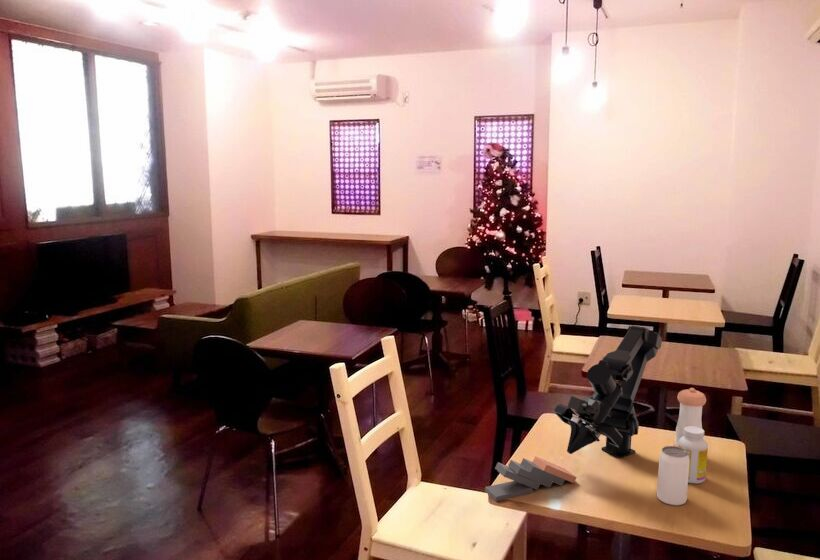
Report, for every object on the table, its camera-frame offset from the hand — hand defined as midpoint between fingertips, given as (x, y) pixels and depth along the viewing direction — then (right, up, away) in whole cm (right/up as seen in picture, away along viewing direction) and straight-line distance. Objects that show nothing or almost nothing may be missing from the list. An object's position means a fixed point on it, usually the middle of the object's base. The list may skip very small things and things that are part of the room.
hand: (568, 452), depth 160 cm
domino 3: (-6, -7, -1) cm, 9 cm away
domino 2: (-11, -7, -3) cm, 14 cm away
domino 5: (0, -6, +2) cm, 6 cm away
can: (+22, -9, -8) cm, 25 cm away
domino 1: (-9, -7, -2) cm, 11 cm away
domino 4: (-3, -6, 0) cm, 7 cm away
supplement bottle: (+31, -7, +2) cm, 32 cm away
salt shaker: (+35, -5, +14) cm, 38 cm away
